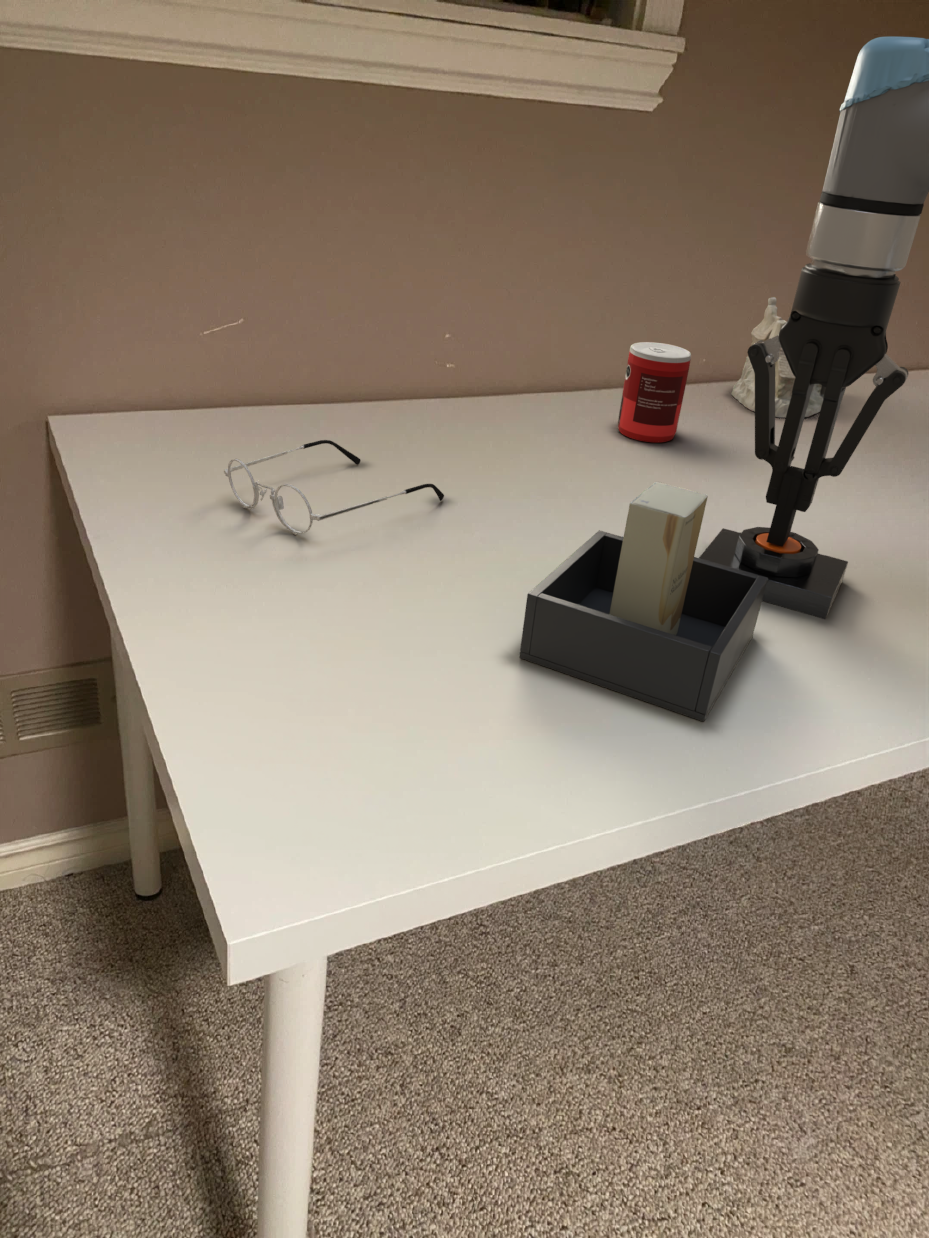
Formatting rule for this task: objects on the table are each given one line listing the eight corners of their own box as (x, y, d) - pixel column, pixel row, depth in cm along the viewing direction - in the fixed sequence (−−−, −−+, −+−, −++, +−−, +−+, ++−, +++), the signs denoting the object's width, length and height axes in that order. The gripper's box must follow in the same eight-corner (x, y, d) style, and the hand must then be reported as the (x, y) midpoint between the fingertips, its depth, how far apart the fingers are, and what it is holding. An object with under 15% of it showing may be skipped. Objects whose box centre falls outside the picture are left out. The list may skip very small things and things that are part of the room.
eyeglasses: (210, 497, 95) (208, 449, 92) (351, 460, 107) (352, 417, 105) (313, 552, 86) (313, 501, 83) (454, 504, 98) (457, 459, 96)
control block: (842, 582, 89) (854, 543, 87) (825, 619, 82) (838, 579, 80) (717, 548, 94) (726, 510, 92) (692, 581, 87) (701, 541, 85)
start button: (800, 557, 88) (805, 540, 87) (791, 573, 85) (796, 555, 84) (757, 546, 89) (761, 529, 89) (747, 560, 86) (751, 543, 85)
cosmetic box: (653, 666, 72) (685, 518, 66) (600, 649, 74) (627, 503, 68) (679, 632, 77) (711, 492, 71) (629, 616, 79) (656, 478, 73)
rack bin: (752, 637, 78) (768, 577, 76) (703, 722, 67) (720, 655, 64) (589, 587, 84) (599, 529, 81) (518, 657, 73) (527, 593, 70)
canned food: (644, 421, 130) (658, 339, 124) (688, 439, 124) (705, 354, 119) (603, 428, 125) (617, 344, 120) (647, 446, 120) (663, 359, 115)
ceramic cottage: (745, 412, 136) (777, 305, 130) (722, 386, 151) (748, 289, 144) (851, 429, 137) (887, 324, 130) (817, 401, 152) (848, 305, 145)
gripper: (944, 276, 75) (857, 545, 87) (780, 250, 80) (718, 508, 92) (936, 287, 69) (844, 574, 81) (759, 259, 74) (696, 533, 86)
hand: (777, 539), depth 86 cm, fingers closed
